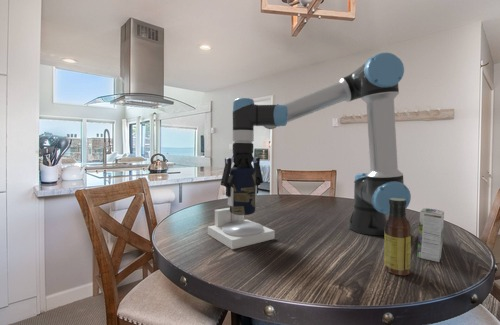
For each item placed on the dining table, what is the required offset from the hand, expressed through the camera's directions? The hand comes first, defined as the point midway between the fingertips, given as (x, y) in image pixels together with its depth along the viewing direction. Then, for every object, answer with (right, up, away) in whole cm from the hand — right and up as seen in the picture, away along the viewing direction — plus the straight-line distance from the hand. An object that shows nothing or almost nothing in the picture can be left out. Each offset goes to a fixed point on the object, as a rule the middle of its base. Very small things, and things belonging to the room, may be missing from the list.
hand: (242, 203), depth 97 cm
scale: (-1, -12, +2) cm, 13 cm away
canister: (0, -4, 0) cm, 4 cm away
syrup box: (+58, -14, -16) cm, 61 cm away
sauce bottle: (+42, -15, -25) cm, 51 cm away
